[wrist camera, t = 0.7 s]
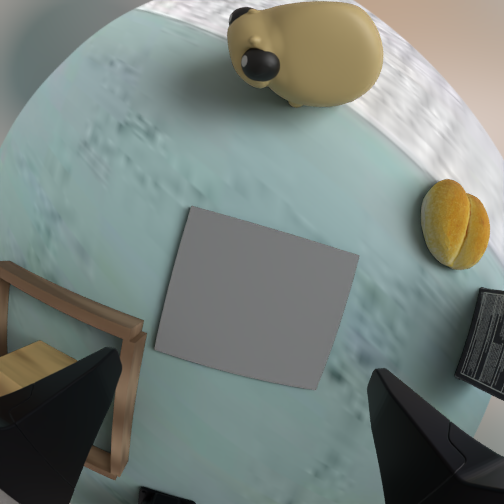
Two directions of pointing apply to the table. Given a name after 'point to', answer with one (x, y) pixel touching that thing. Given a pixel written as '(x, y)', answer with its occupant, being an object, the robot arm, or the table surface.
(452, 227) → the yellow rounded lump
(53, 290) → the wooden picture frame
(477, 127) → the table surface
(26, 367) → the ochre block
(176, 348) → the mat
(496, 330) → the small box
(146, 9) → the table surface
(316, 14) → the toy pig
